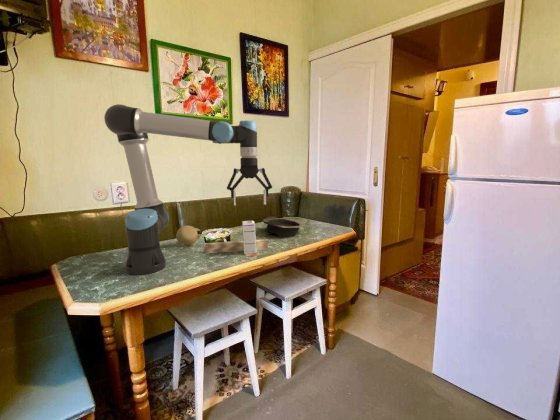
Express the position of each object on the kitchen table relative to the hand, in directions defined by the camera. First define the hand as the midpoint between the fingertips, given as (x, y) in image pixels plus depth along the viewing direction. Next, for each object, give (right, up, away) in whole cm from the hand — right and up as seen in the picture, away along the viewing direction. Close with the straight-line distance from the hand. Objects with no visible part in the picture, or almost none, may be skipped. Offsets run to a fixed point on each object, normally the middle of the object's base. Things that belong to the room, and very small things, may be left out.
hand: (250, 204), depth 138 cm
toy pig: (-32, -21, +16) cm, 41 cm away
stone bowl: (+16, -16, +37) cm, 43 cm away
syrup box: (-1, -22, +4) cm, 23 cm away
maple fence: (-6, -22, +3) cm, 23 cm away
